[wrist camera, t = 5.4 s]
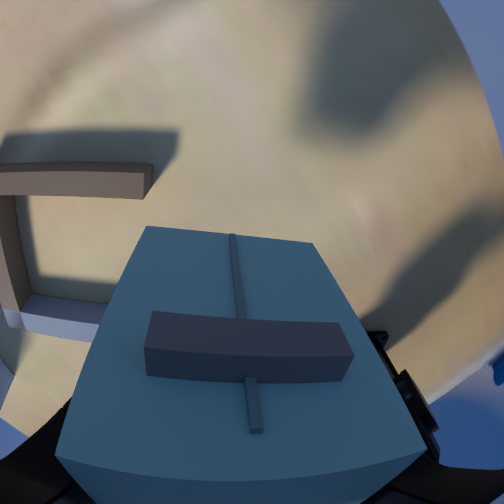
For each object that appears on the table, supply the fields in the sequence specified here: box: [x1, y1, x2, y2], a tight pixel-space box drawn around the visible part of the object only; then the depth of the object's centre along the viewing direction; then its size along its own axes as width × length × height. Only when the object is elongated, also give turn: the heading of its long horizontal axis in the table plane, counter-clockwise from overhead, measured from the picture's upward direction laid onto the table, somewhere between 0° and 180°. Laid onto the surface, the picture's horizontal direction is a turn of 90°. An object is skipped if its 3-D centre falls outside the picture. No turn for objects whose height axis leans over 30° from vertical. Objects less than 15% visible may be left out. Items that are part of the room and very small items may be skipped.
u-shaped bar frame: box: [0, 162, 153, 343], centre depth 19 cm, size 21×13×2 cm, turn 82°
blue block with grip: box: [55, 226, 427, 504], centre depth 7 cm, size 5×8×7 cm, turn 171°
